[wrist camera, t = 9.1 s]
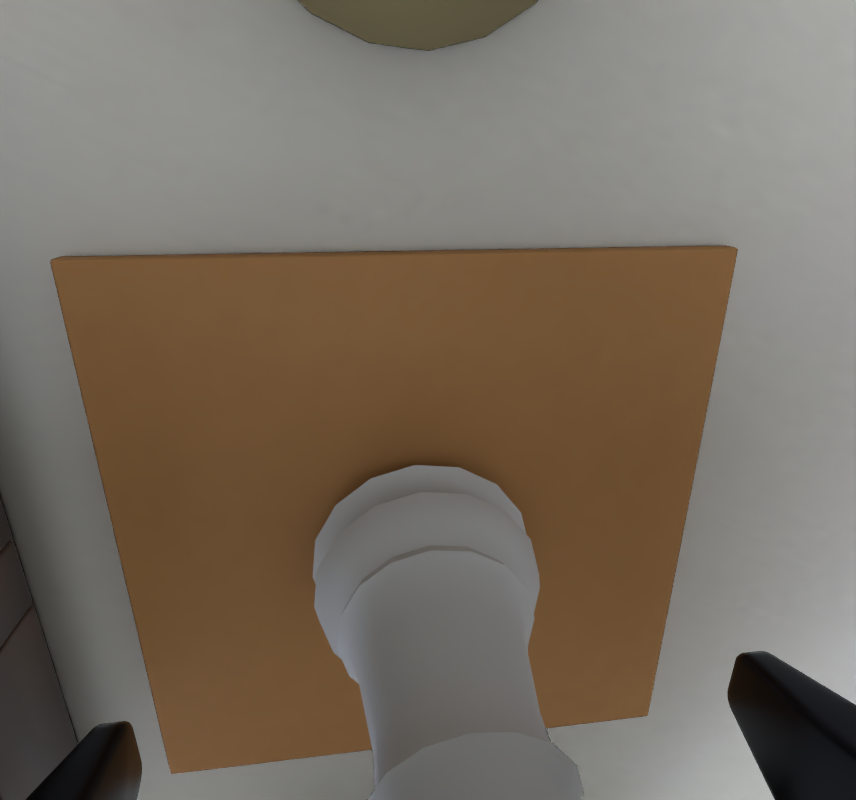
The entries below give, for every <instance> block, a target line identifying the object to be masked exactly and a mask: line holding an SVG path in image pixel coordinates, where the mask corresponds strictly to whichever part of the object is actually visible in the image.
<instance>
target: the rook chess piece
mask: <svg viewBox="0 0 856 800" xmlns="http://www.w3.org/2000/svg"><path fill="white" fill-rule="evenodd" d="M313 579H314V581H315V584H316V588H315V602H314V608H315V611H316V613H317V616H318V619H319V622H320V624H321V626H322V628H323V631H324V633H325V635H326V637H327V639H328V642H329V644H330V646H331V648H332V651H333V653H334V654H336V655H337V656H338V657H339V658H340V659H342V661H343V663H344V665H345V668H346V670H347V672H348V674H349V676H350V677H351V678H352V679H353V680H355V681H356V682H357V683H358V684H359V686H360V691H361V696H362V701H363V706H364V711H365V716H366V721H367V726H368V731H369V736H370V741H371V746H372V751H373V760H374V780H375V790H374V791H373V792H372V794H371V795H370V797H369V798H368V799H367V800H582V797H583V794H584V792H583V788H582V784H581V780H580V776H579V772H578V768H577V765H576V764H575V763H574V762H573V761H572V760H571V759H570V758H569V757H567V756H566V755H565V754H564V753H563V752H562V751H561V750H560V749H559V748H558V747H557V746H556V745H554V744H553V743H552V742H551V741H550V738H549V736H548V733H547V730H546V727H545V725H544V722H543V719H542V716H541V714H540V710H539V705H538V700H537V695H536V691H535V686H534V681H533V676H532V671H531V666H530V661H529V657H528V644H529V639H530V635H531V631H532V627H533V623H534V619H535V617H534V611H535V607H536V602H537V598H538V594H539V590H540V581H539V572H538V567H537V563H536V559H535V555H534V551H533V547H532V542H531V539H530V538H529V537H528V536H527V535H526V531H525V527H524V523H523V518H522V514H521V512H520V511H519V510H518V508H517V507H516V506H515V505H514V504H513V503H512V501H511V500H510V499H509V498H508V497H507V496H506V494H505V493H504V492H503V491H502V490H501V489H500V487H499V486H498V485H497V484H495V483H493V482H491V481H488V480H486V479H484V478H482V477H480V476H477V475H475V474H473V473H471V472H469V471H466V470H464V469H462V468H460V467H444V466H425V465H413V466H410V467H406V468H403V469H400V470H397V471H393V472H390V473H387V474H384V475H380V476H377V477H374V478H371V479H369V480H368V481H367V482H365V483H364V484H363V485H361V486H360V487H359V488H357V489H356V490H355V491H354V492H352V493H351V494H350V495H348V496H347V497H346V498H344V499H343V500H342V501H340V502H339V503H338V504H337V505H335V507H334V509H333V510H332V512H331V514H330V516H329V517H328V519H327V521H326V522H325V524H324V526H323V528H322V529H321V531H320V533H319V535H318V536H317V538H316V540H315V550H314V564H313Z"/></svg>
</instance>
